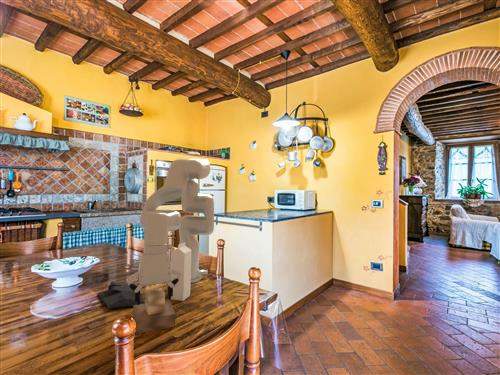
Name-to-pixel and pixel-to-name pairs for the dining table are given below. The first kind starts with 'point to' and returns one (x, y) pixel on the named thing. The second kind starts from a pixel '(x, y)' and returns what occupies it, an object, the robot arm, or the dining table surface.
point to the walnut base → (153, 318)
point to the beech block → (155, 301)
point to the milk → (183, 265)
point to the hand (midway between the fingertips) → (154, 301)
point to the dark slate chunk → (119, 296)
